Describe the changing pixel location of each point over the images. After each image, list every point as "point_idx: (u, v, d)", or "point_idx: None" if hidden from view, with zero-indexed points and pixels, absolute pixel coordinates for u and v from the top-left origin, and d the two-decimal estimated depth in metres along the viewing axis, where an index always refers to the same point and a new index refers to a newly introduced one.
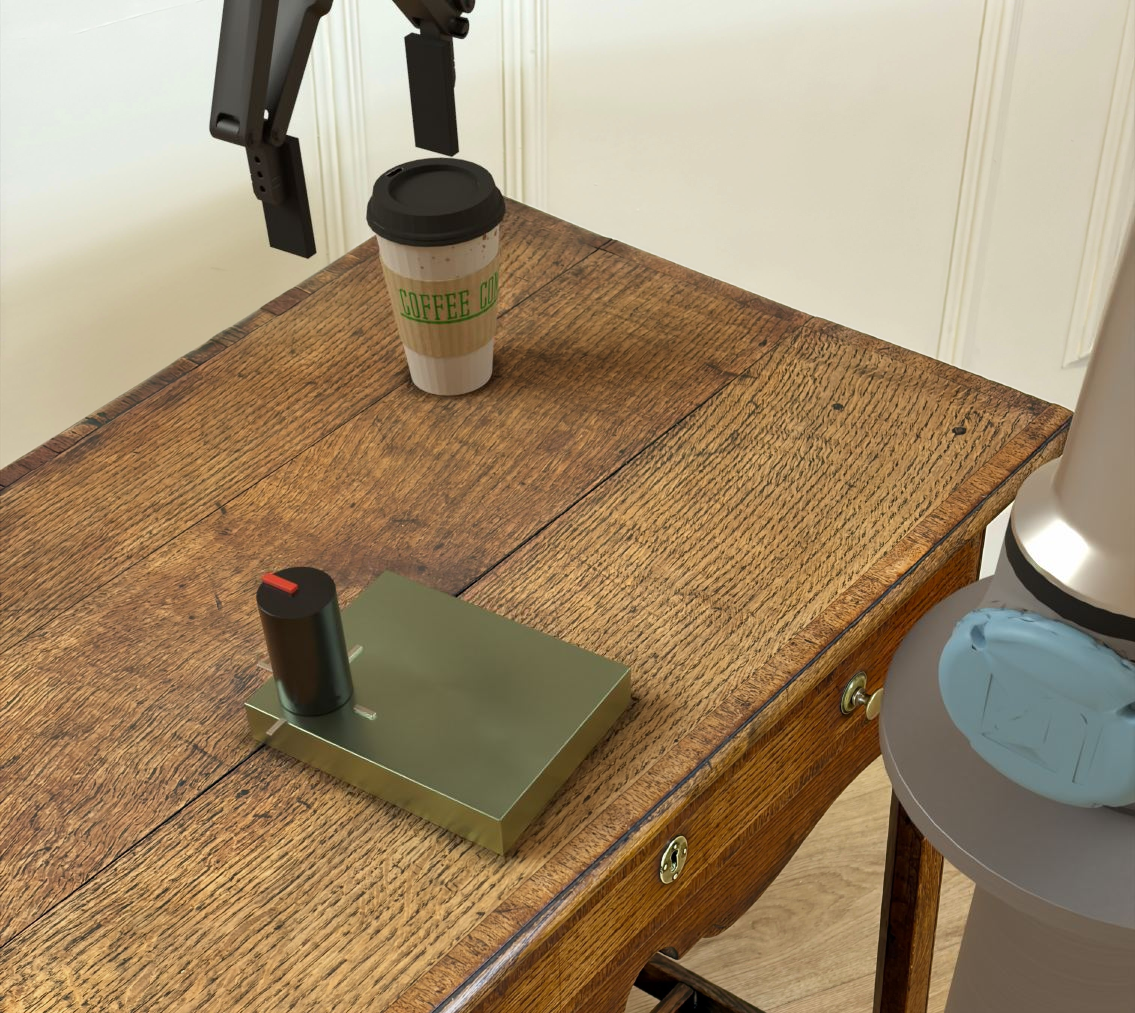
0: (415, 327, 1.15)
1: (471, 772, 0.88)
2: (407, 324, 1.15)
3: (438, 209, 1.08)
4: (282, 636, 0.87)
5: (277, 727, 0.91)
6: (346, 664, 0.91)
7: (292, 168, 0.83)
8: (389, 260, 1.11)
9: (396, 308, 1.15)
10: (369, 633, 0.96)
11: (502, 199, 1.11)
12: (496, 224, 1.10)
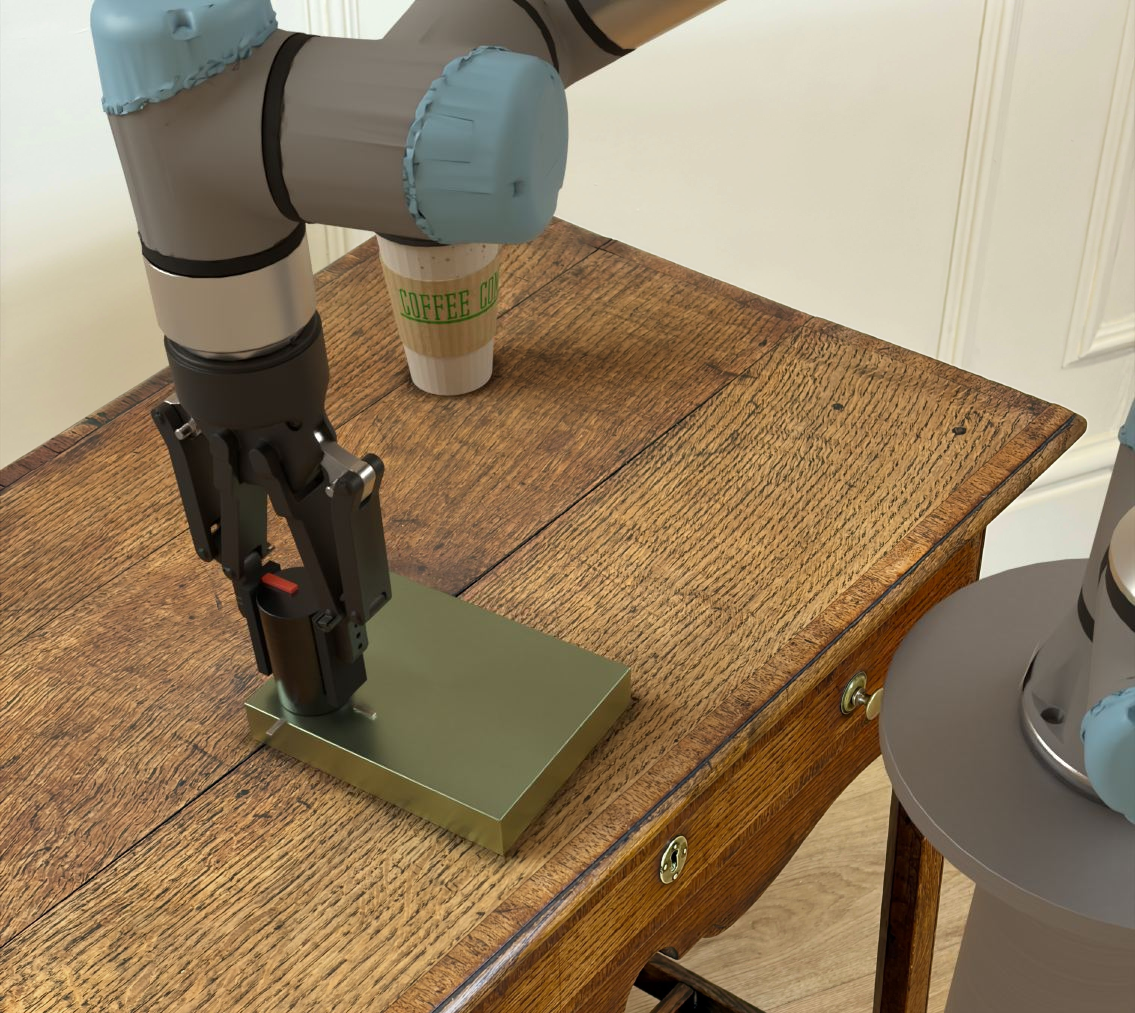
0: (415, 327, 1.15)
1: (471, 772, 0.88)
2: (407, 324, 1.15)
3: None
4: (282, 636, 0.87)
5: (277, 727, 0.91)
6: None
7: (245, 604, 0.89)
8: (389, 260, 1.11)
9: (396, 308, 1.15)
10: (369, 633, 0.96)
11: None
12: None
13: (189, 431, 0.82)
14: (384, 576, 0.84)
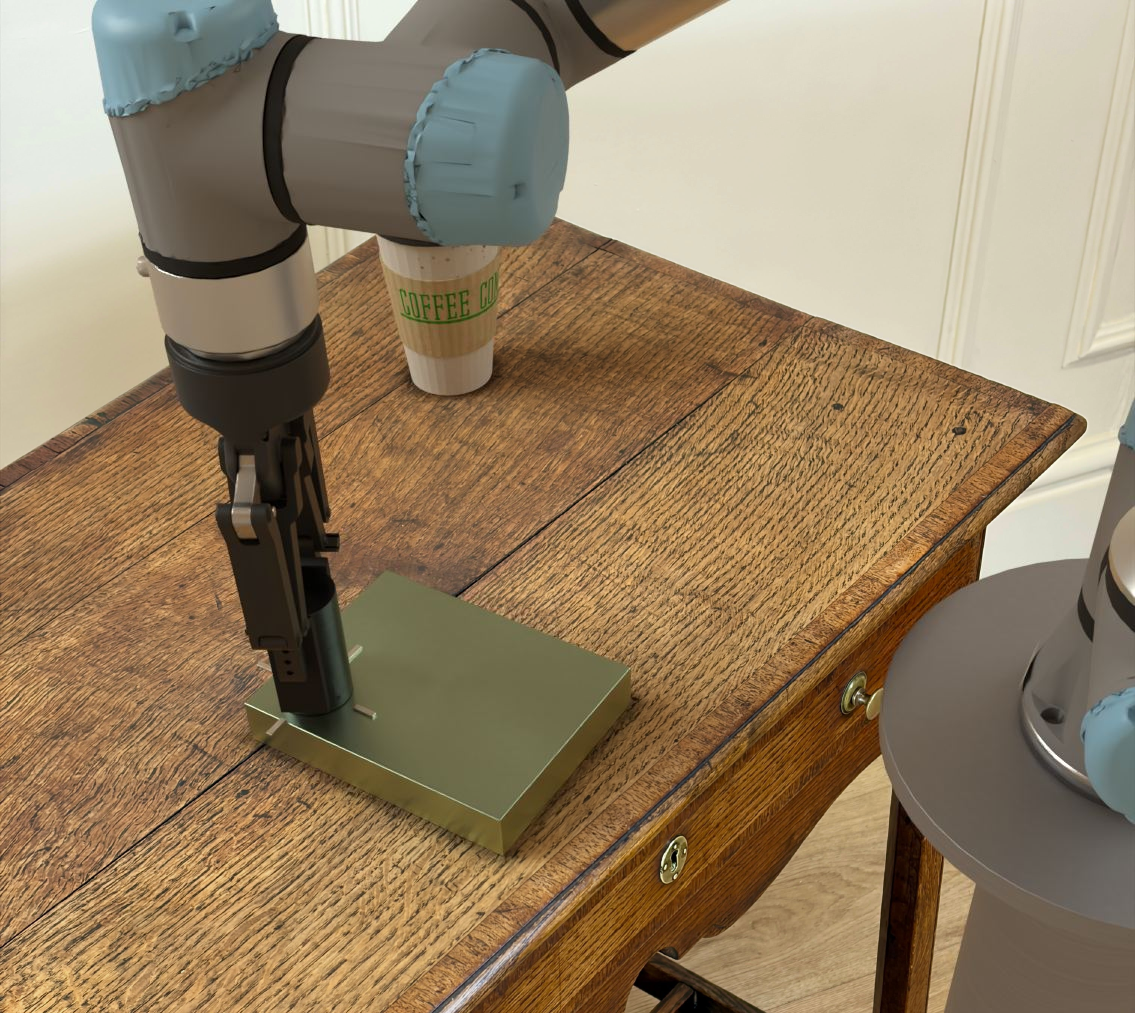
0: (415, 327, 1.15)
1: (471, 772, 0.88)
2: (407, 324, 1.15)
3: None
4: (338, 604, 0.89)
5: (277, 727, 0.91)
6: None
7: (313, 645, 0.87)
8: (389, 260, 1.11)
9: (396, 308, 1.15)
10: (369, 633, 0.96)
11: None
12: None
13: None
14: None
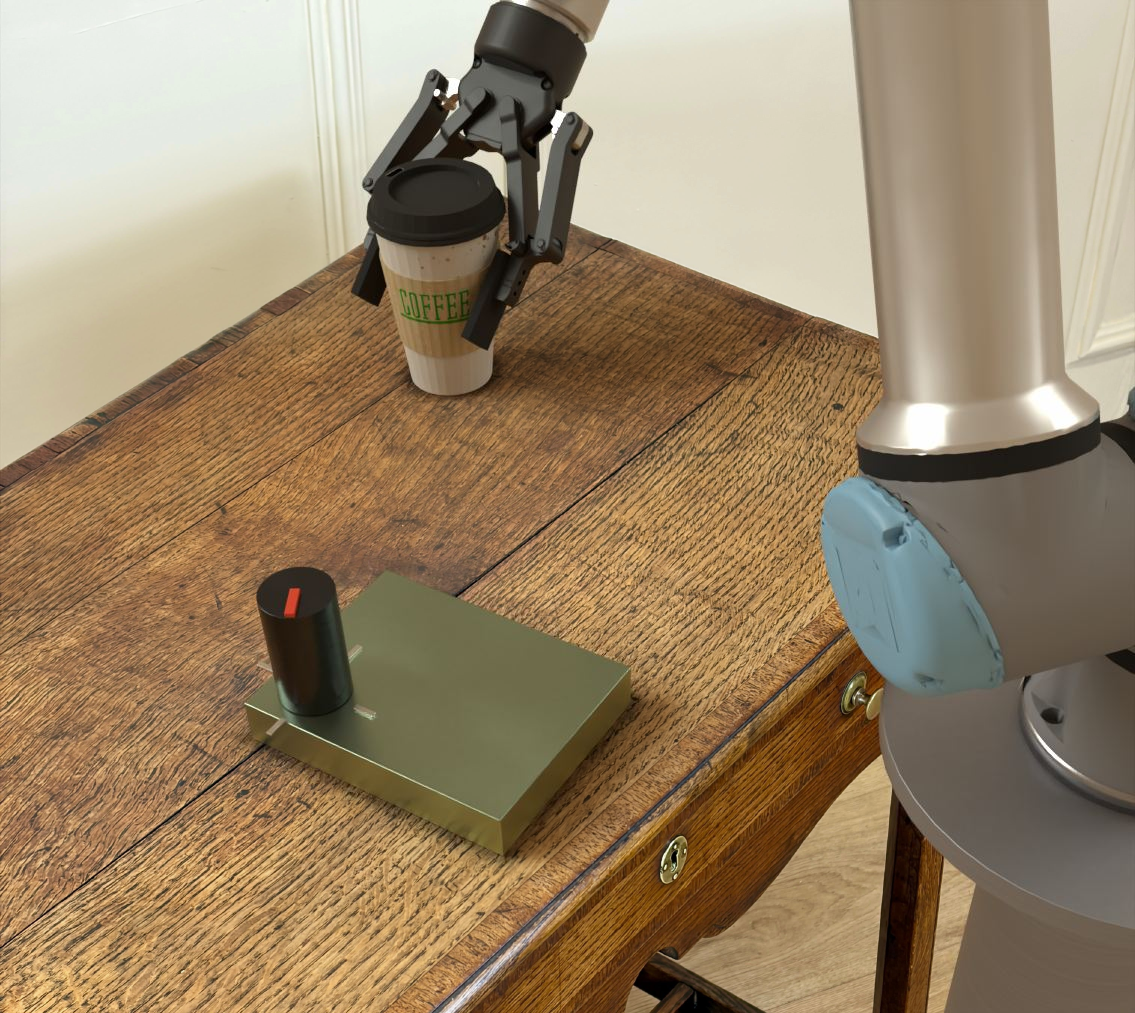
0: (415, 327, 1.15)
1: (471, 772, 0.88)
2: (407, 324, 1.15)
3: (438, 209, 1.08)
4: (338, 604, 0.89)
5: (277, 727, 0.91)
6: None
7: None
8: (389, 260, 1.11)
9: (396, 308, 1.15)
10: (369, 633, 0.96)
11: (502, 199, 1.11)
12: (496, 224, 1.10)
13: (443, 97, 1.15)
14: (565, 231, 1.11)
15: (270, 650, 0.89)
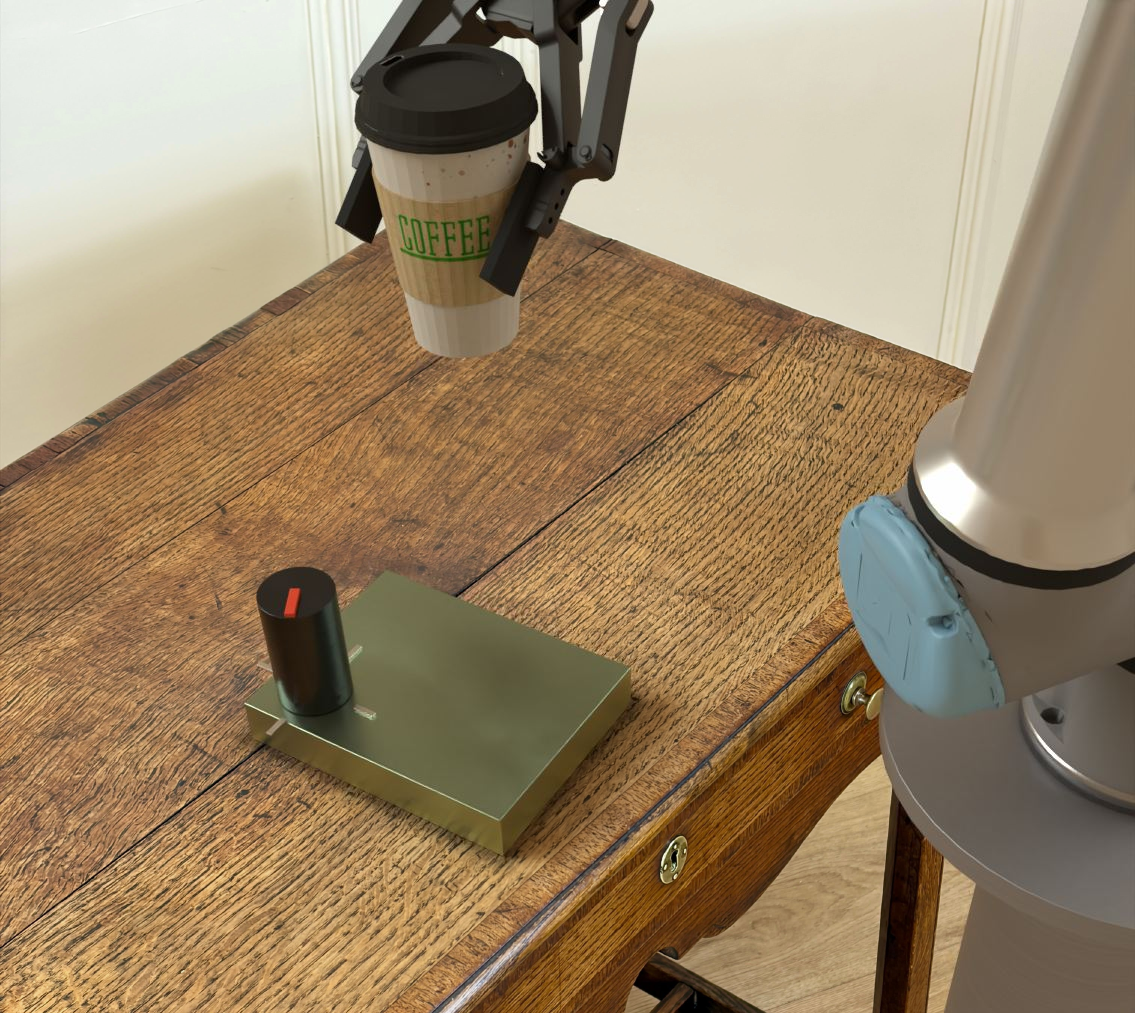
0: (419, 266, 0.88)
1: (471, 772, 0.88)
2: (408, 264, 0.88)
3: (449, 104, 0.81)
4: (338, 604, 0.89)
5: (277, 727, 0.91)
6: None
7: None
8: (384, 175, 0.84)
9: (394, 242, 0.88)
10: (369, 633, 0.96)
11: (534, 95, 0.84)
12: (526, 126, 0.83)
13: None
14: (617, 137, 0.84)
15: (270, 650, 0.89)
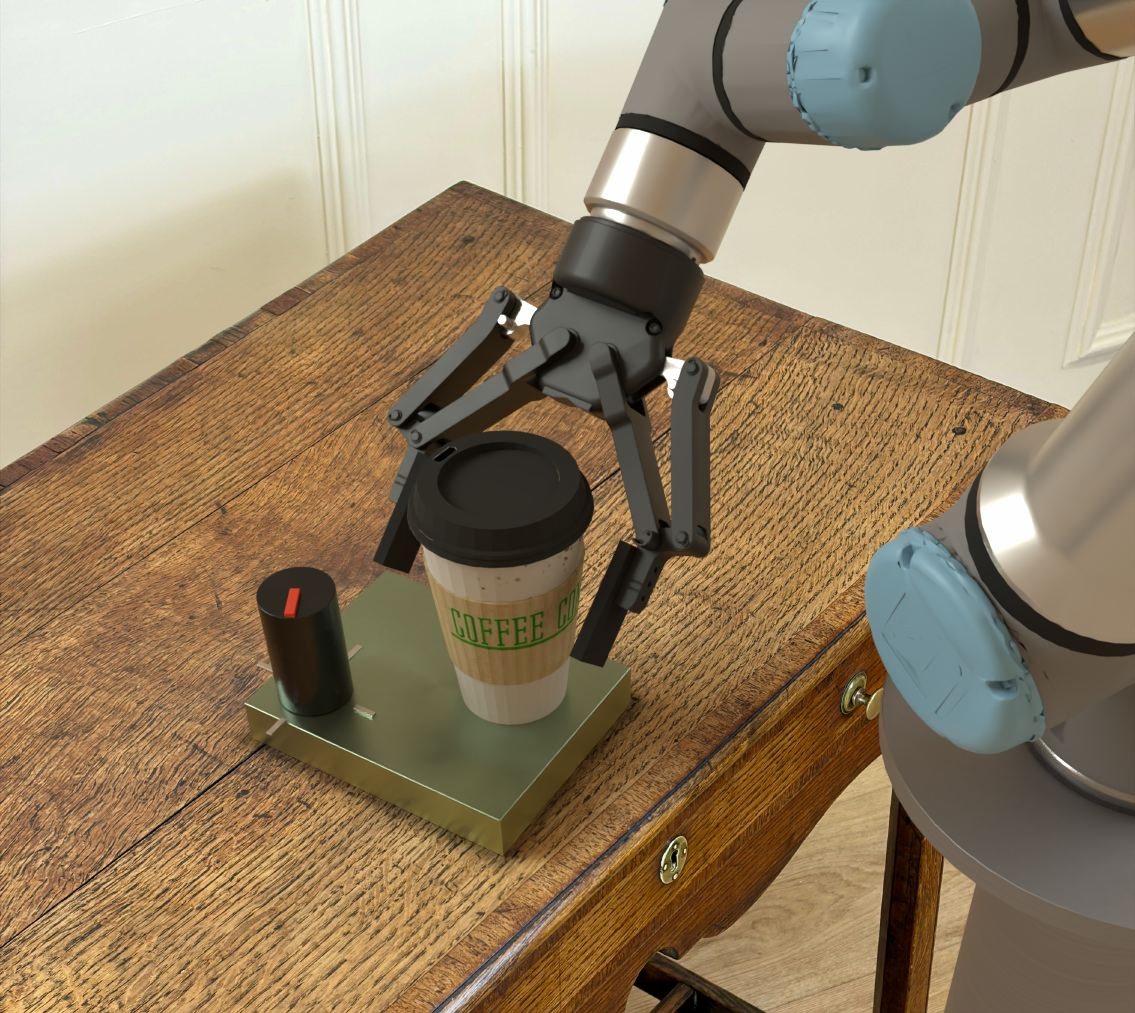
0: (470, 650, 0.86)
1: (471, 772, 0.88)
2: (459, 646, 0.87)
3: (507, 518, 0.80)
4: (338, 604, 0.89)
5: (277, 727, 0.91)
6: None
7: (410, 475, 0.87)
8: (438, 573, 0.83)
9: (445, 625, 0.86)
10: (369, 633, 0.96)
11: (590, 493, 0.83)
12: (583, 531, 0.82)
13: (509, 325, 0.86)
14: (707, 513, 0.82)
15: (270, 650, 0.89)
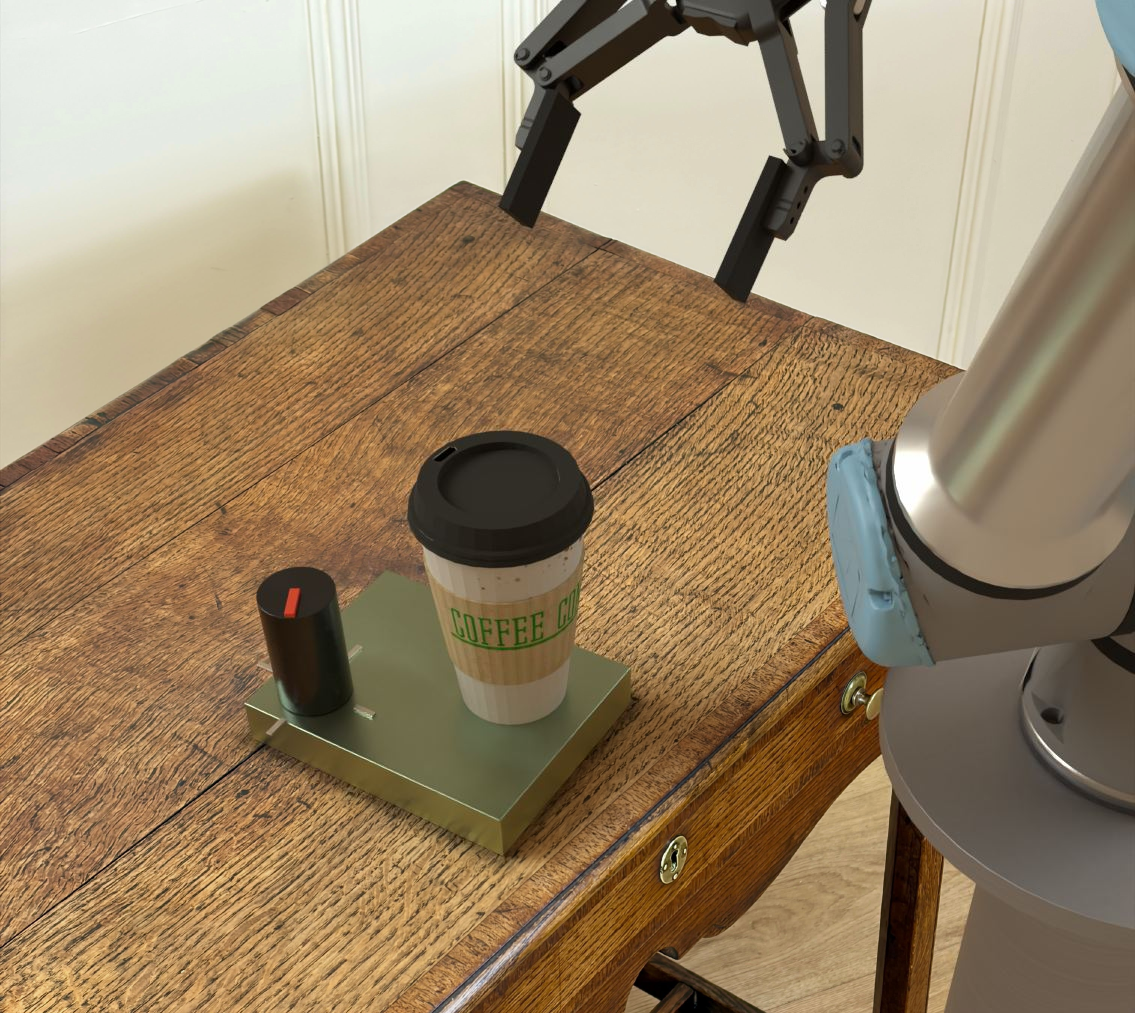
0: (470, 650, 0.86)
1: (471, 772, 0.88)
2: (459, 646, 0.87)
3: (507, 518, 0.80)
4: (338, 604, 0.89)
5: (277, 727, 0.91)
6: None
7: (538, 114, 0.83)
8: (438, 573, 0.83)
9: (445, 625, 0.86)
10: (369, 633, 0.96)
11: (590, 493, 0.83)
12: (583, 531, 0.82)
13: None
14: (861, 129, 0.77)
15: (270, 650, 0.89)
